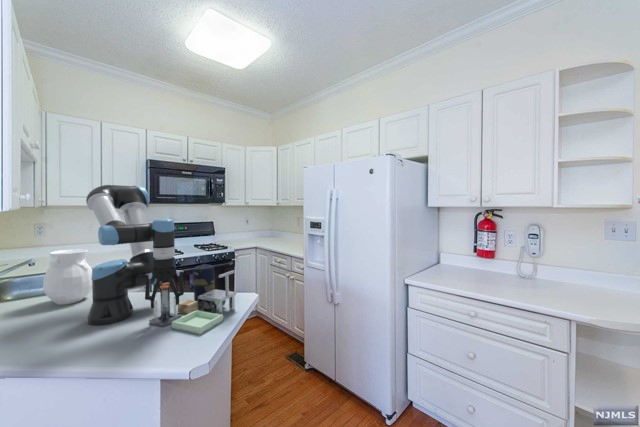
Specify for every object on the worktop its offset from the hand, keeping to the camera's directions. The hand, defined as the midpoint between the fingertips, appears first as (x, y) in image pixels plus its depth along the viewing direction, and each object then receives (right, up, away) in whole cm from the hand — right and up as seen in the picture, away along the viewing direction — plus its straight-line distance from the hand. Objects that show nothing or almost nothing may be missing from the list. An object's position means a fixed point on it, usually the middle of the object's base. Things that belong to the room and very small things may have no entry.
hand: (165, 314), depth 107 cm
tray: (+15, -3, -3) cm, 15 cm away
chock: (+4, -3, +10) cm, 11 cm away
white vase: (-61, -3, +24) cm, 65 cm away
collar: (0, -3, 0) cm, 3 cm away
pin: (0, -3, 0) cm, 3 cm away
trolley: (+17, -3, +10) cm, 20 cm away
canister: (+6, -2, +24) cm, 24 cm away
